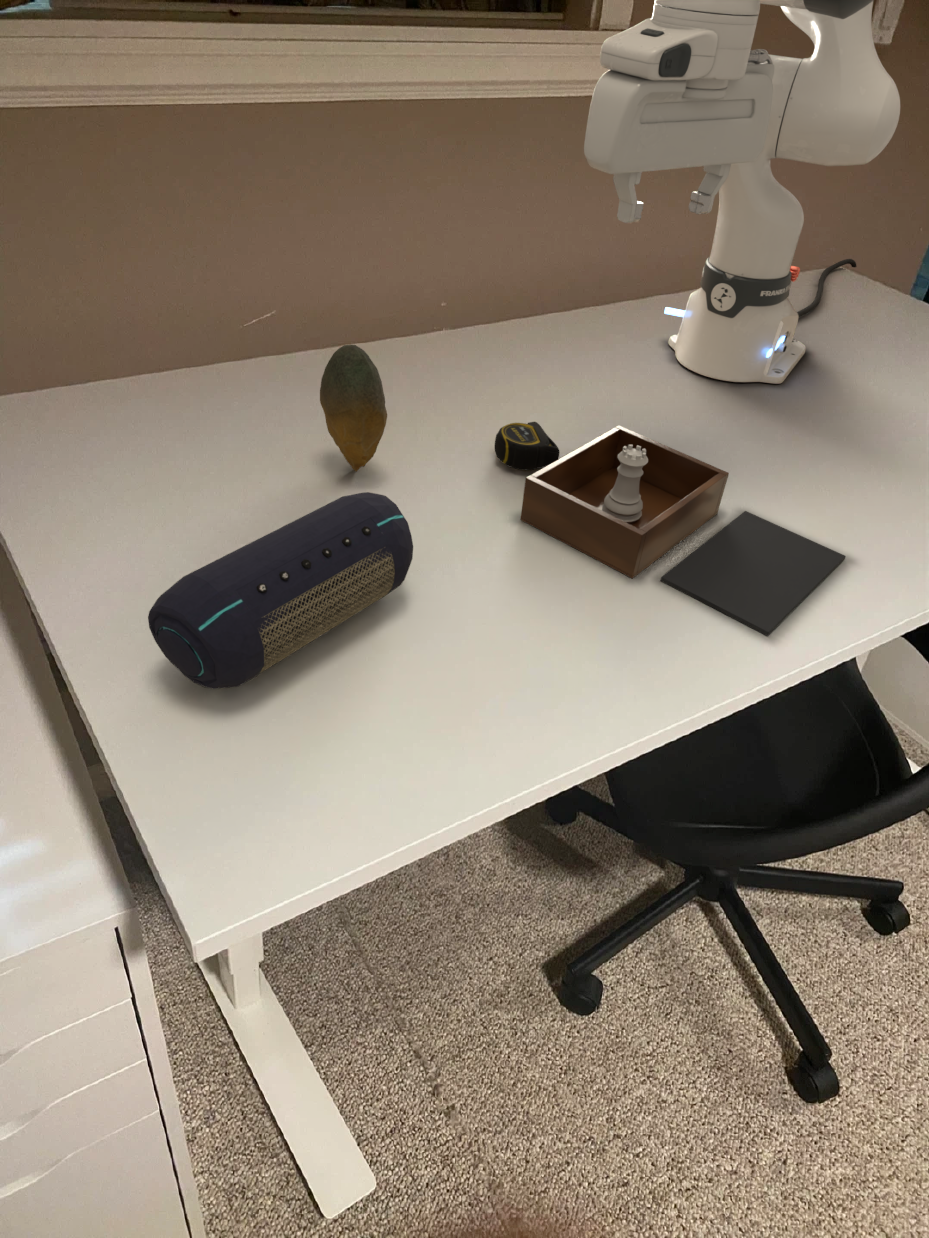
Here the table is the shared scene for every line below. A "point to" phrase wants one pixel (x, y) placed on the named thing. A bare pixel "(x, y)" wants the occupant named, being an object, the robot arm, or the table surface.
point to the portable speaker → (282, 590)
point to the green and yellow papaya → (353, 404)
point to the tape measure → (525, 446)
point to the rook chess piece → (627, 486)
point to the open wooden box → (583, 478)
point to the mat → (754, 571)
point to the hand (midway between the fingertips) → (664, 217)
